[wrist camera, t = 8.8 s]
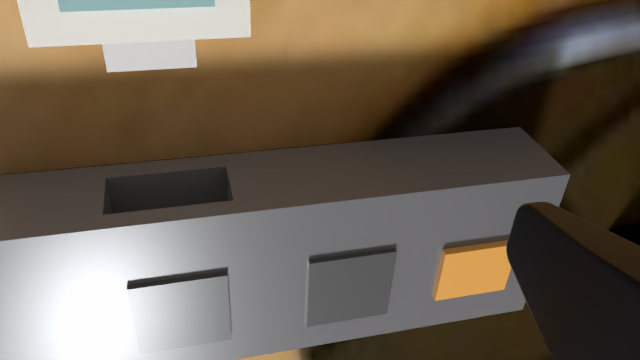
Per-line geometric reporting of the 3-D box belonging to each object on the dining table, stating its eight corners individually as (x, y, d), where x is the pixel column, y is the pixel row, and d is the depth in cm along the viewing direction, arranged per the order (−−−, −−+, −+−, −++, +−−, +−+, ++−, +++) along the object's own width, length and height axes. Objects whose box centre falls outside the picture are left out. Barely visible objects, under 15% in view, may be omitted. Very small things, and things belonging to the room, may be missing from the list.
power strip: (520, 126, 24) (575, 179, 21) (484, 255, 28) (526, 314, 25) (-201, 193, 18) (-268, 279, 15) (-115, 343, 22) (-155, 434, 19)
